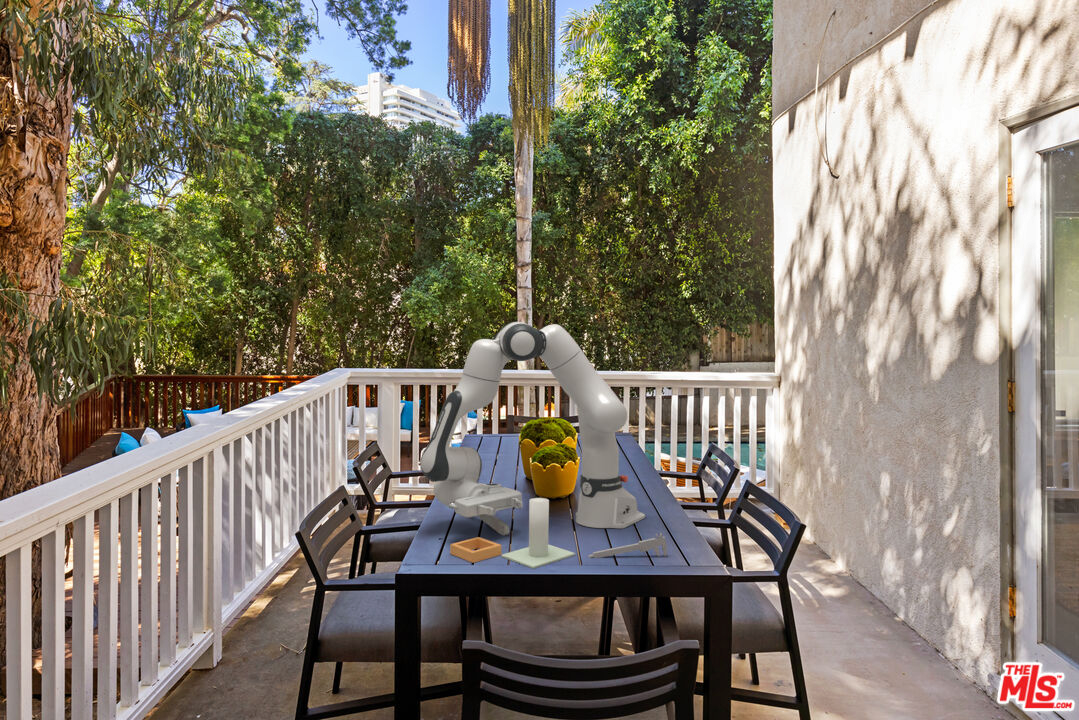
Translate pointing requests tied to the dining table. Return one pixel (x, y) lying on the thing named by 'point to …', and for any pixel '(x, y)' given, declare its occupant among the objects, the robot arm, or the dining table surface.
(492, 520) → the wrench
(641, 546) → the caliper
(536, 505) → the tall white pillar
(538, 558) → the mat
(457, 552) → the orange square frame
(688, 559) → the dining table surface
